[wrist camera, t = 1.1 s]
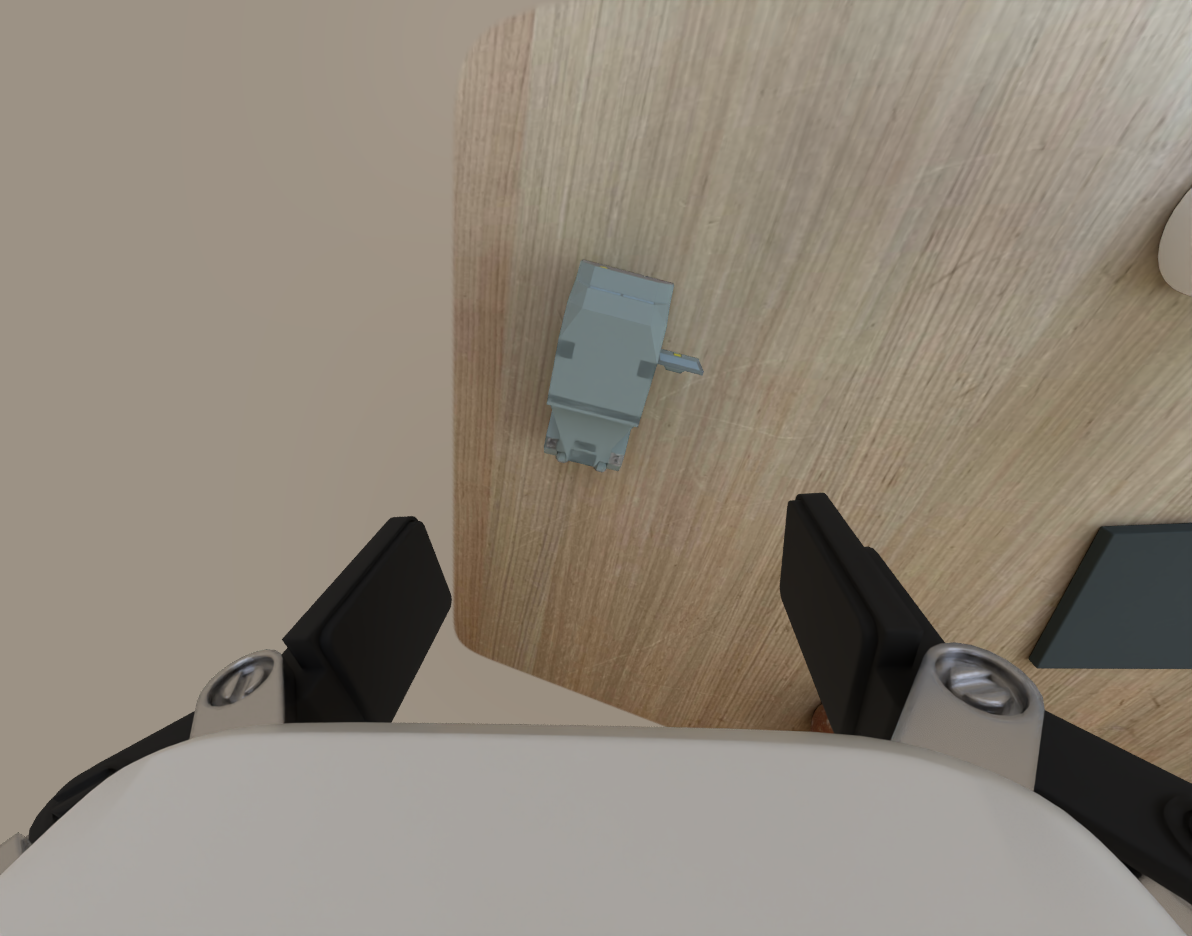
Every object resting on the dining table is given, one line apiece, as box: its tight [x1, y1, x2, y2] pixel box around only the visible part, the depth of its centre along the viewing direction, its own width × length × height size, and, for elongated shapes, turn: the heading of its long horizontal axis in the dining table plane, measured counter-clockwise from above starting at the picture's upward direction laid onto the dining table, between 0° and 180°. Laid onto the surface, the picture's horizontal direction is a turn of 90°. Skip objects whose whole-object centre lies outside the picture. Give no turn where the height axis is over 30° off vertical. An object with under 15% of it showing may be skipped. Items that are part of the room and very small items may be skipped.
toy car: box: [544, 260, 704, 472], centre depth 21 cm, size 6×10×5 cm, turn 167°
